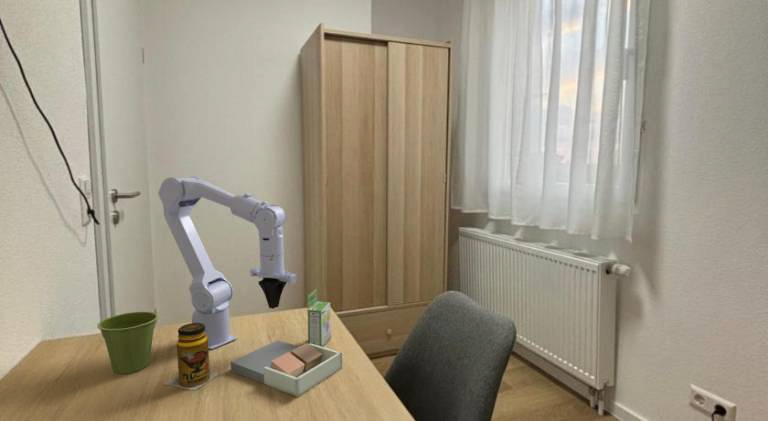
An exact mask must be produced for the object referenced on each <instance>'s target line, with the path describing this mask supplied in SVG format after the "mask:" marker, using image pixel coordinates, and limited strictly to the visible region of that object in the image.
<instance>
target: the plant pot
mask: <svg viewBox="0 0 768 421" xmlns="http://www.w3.org/2000/svg"><path fill="white" fill-rule="evenodd" d="M158 318H159V314H158V313H156V312H153V311H133V312H126V313H122V314H116V315H114V316H111V317H107V318H105V319H103V320H101V321H100V322H98V323H97V325H96V326H97V329H99V330H100V332H101V335H102V337H103V339H104V342H105V346H106V350H107V354H108V357H109V361H110V365H111V368H112V371H113V373H117V374H119V375H127V374H130V373H131V374H133V373H136V372H140V370H141V369H143V368H147V367H148V366H149V365H150V362H151V354H152V347H153V346H152V345H153V338H154V330H155V328H156V322H157V320H158Z"/></svg>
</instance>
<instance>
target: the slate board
mask: <svg viewBox="0 0 768 421" xmlns="http://www.w3.org/2000/svg"><path fill="white" fill-rule="evenodd" d="M298 347H300V346H298V345H295V344H293V343H289V342H285V341H282V340H279V339H277V340H275V341H273V342H270V343H268V344H266V345H264V346H262V347H260V348H258V349H256V350H253V351H251V352H249V353H248V354H245V355H242V356H240V357H238V358H236V359H234V360H232V361H231V362H230V370H231V371H232V372H234V373H237V374H240V375H242V376H244V377H247V378H250V379H252V380H254V381H256V382H260V383H263V384H264V367H269V368H270V366H271V362H272V361H273V360H275V359H276V358H278V357H280V356H282V355H284V354H286V353H288V352H289V353H291V351H292V350H294V349H296V348H298Z"/></svg>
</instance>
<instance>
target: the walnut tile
mask: <svg viewBox="0 0 768 421" xmlns="http://www.w3.org/2000/svg"><path fill="white" fill-rule="evenodd" d="M291 354H292V355H293V356H295V357H296V358H297V359H299V360H300V361H301V362H303V363H304V364H305V365H304V369H303V371H304V372H306V371H308V370H310V369H311V368H313V367H315V366H316V365H318V364H320V362H321V359H322V355H323V354H322V353H320V352H319V351H318V350H316V349H315V348H313V347H312V346H311V345H309V344H308V342H306V343H304V344H302V345H300V346H299V347H298V348H296V349H294V350H292V351H291Z"/></svg>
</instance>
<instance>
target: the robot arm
mask: <svg viewBox="0 0 768 421" xmlns="http://www.w3.org/2000/svg"><path fill="white" fill-rule="evenodd" d="M157 194H158V196H159V199H160V200H161V203H162V209H163V217H164V219H165V221H166V224H167V226H168V229H169V230H170V232H171V234H172V236H173V239H174V241H175V243H176V245H177V247H178V249H179V251H180V253H181V255H182V258H183V260H184V262H185V264H186V267H187V268H188V270H189V273H190V275H191V277H192V280H191V283H190V285H189V287H188V290H189V292H190V296H191V304H192V306H193V307H194V311H193V313H192V315H191V323H202V324H204V325H205V331H206V334H205V335H206V336H207V338H208V350H214V349H217V348H219V347H221V346H223V345H226V344H229V343H231V342H233V341H236V340H238V336H235V335H232V334H231V331H230V313H229V312H230V311H229V305H230V300H231V299H232V298H233V296H234V287H233V285H232V284H231V282H229V280H227V279H226V277H225V275H224V273H223V272H220V271H218V270H217V269H215V268H214V266H213V263H212V262H211V259H210V257H209V255H208V253H207V251H206V248H205V247H204V243H203V242H202V240H201V237H200V236H199V234H198V230H197V229H196V227H195V224H194V222H193V220H192V218H191V217H190V214H191V213H192V210H193V209H194V208H195V206H196V205H197V204H198V202H199V201H200V200H201V199H202V198H203V199H206V200H208V201H211V202H214V203H217V204H219V205H222V206H224V207H228V208H229V209H230V212H231V214H232V215H234V216H236V217H238V218H241V219H243V220H245V221H248V222H249V223H252V224H254V226H255V227H256V228H257V231H258V236H259V238H258V239H259V241H258V242H259V262H260V266H259V267H257V266H256V267H252V268H250V269H249V271H250V272H249V274H250V275H249V276H250V277H257V278H260V279H261V280H259V281H258V285H259V286H260V288H261V290H262V292H263V294H264V297H265V299H266V302H267V305H268V308H269V309H272V310H273V309H275V308H276V309H277V308H278V307H279V306H280V301H281V296H282V293H283V290H284V289H285V287H286V285H287V284H289V285H292V284H295V283H298V282H297V273H296V274H295V273H292V272H290V271H288V270H285V254H284V253H285V252H284V250H285V249H284V225H285V224H286V222H287V213H286V211H285V209H284V208H283V207H281V206H280V205H279V204H271V205H269V201H265V200H263V201H262V200H259V199H256V198H254V197H252V194H251V193H249V192H246V193H239V194H237V195H235V194H233V193H231V192H229V191H227V190H224V189H222V188H221V187H219V186H216V185H214V184H213V183H211V182H209V181H207V180H206V179H203V178H199V177H198V176H190V177H166V179H163V181H162V183H161V185H160V187H159V190H158V191H157Z"/></svg>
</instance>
